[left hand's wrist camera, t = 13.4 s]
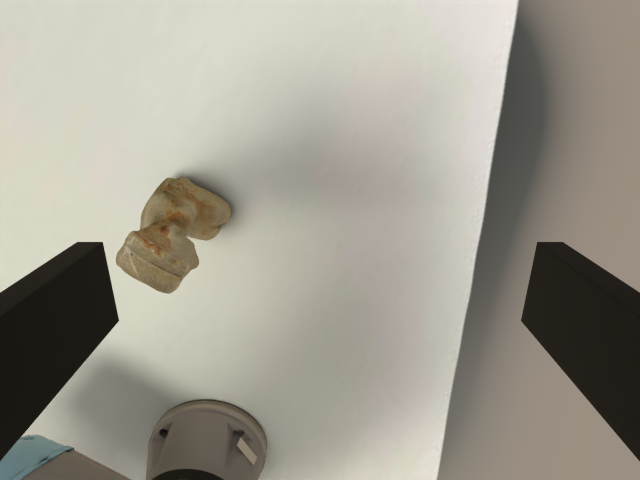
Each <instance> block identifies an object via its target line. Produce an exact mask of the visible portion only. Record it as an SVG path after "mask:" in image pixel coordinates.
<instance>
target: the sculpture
mask: <svg viewBox="0 0 640 480" xmlns="http://www.w3.org/2000/svg"><path fill="white" fill-rule="evenodd" d="M230 217H231V209H230V207H229V205H228V204H227V203H226V202H225V201H224V200H223V199H222V198H220V197H218V196H217V195H215V194H213V193H211V192H209V191H207V190H205V189H203V188H201V187H199V186H197V185H195V184H193V183H192V182H191V181H190V180H189V179H188V178H185V177H180V178H178V179H173V178H167V179H165V180H164V181H163V182H162V183H161V184H160V186H159V187H158V188H157V189H156V190H155V192H154V193H153V195H152V196H151V197H150V199H149V200H148V202H147V203H146V205H145V207H144V209H143V212H142V215H141V226H140V230H139V231H132V232H130V233H129V235H128V236H127V238H126V240H125V243H124V244H123V246H122V248H121V249H120V250H119V252H118V254H117V256H116V263H117V265H118V266H119V267H121V268H122V270H123V271H124V272H126V273H127V274H128V275H130V276H131V277H133V278H135V279H137V280H139V281H141V282H143V283H145V284H147V285H148V286H150V287H152V288H154V289H155V290H157V291H160V292H163V293H172V292H173V291H175V290H176V289H177V288H178V287H179V285H180V283H181V281H182V280H183V278H184V277H185V276H186V275H187V274H188V273H189V272H190V270H192V269H194V268H196V267H198V265H199V259H198V256H197V254H196V250H195V246H194V243H193V242H192V241H190V240H189V239H188V238H187V237H186V236H188V237H191V238H195V239H200V240H210V239H212V238H214V237H215V236H216V235H217V234H218V233H219V231H220V229H221V227H220V225H221V224H225V223H227V222H228V220H229V219H230Z"/></svg>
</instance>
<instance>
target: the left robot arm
mask: <svg viewBox="0 0 640 480" xmlns="http://www.w3.org/2000/svg"><path fill="white" fill-rule="evenodd" d="M118 321H119V319H118V314H117V309H116V304H115V299H114V295H113V290H112V285H111V280H110V275H109V270H108V266H107V261H106V256H105V251H104V246H103V242H77V243H75V244H74V245H72V246H71V247H69V248H68V249H66V250H65V251H63V252H61V253H60V254H58V255H57V256H55V257H54V258H52V259H51V260H49V261H48V262H46V263H45V264H43V265H42V266H40V267H39V268H37V269H36V270H34V271H33V272H31V273H30V274H28V275H26V276H25V277H23V278H22V279H20V280H19V281H17V282H16V283H14V284H13V285H11V286H10V287H8V288H7V289H5V290H4V291H2V292H1V293H0V480H130V479H129V478H127V477H125V476H123V475H121V474H119V473H117V472H115V471H113V470H111V469H109V468H108V467H106V466H104V465H102V464H100V463H98V462H96V461H94V460H92V459H90V458H88V457H86V456H85V455H83V454H81V453H79V452H77V451H75V450H74V448H73V447H71V446H63V445H61V444H58V443H56V442H54V441H52V440H49V439H47V438H45V437H43V436H39V435H28V436H24V437H21V436H22V435H23V434H24V433H25V431H26V430H27V429H28V428H29V427H30V425H31V424H32V423H33V422H34V421H35V420H36V418H37V417H38V416H39V415H40V414H41V412H42V411H43V410H44V409H45V408H46V407H47V405H48V404H49V403H50V402H51V401H52V399H53V398H54V397H55V396H56V395H57V393H58V392H59V391H60V390H61V389H62V388H63V386H64V385H65V384H66V383H67V382H68V380H69V379H70V378H71V377H72V376H73V375H74V373H75V372H76V371H77V370H78V369H79V367H80V366H81V365H82V364H83V363H84V362H85V360H86V359H87V358H88V357H89V356H90V354H91V353H92V352H93V351H94V350H95V348H96V347H97V346H98V345H99V344H100V343H101V341H102V340H103V339H104V338H105V337H106V335H107V334H108V333H109V332H110V331H111V330H112V328H113V327H114V326H115V325H116V324H117V322H118ZM521 321H522V322H523V324H524V325H525V326H526V327H527V328H528V330H529V331H530V332H531V333H532V334H533V335H534V337H535V338H536V339H537V340H538V341H539V343H540V344H541V345H542V346H543V347H544V348H545V350H546V351H547V352H548V353H549V354H550V356H551V357H552V358H553V359H554V360H555V361H556V363H557V364H558V365H559V366H560V367H561V369H562V370H563V371H564V372H565V373H566V374H567V376H568V377H569V378H570V379H571V380H572V382H573V383H574V384H575V385H576V386H577V388H578V389H579V390H580V391H581V392H582V393H583V395H584V396H585V397H586V398H587V399H588V401H589V402H590V403H591V404H592V405H593V407H594V408H595V409H596V410H597V411H598V412H599V414H600V415H601V416H602V417H603V418H604V419H605V421H606V422H607V423H608V424H609V425H610V427H611V428H612V429H613V430H614V431H615V433H616V434H617V435H618V436H619V437H620V438H621V440H622V441H623V442H624V443H625V444H626V446H627V447H628V448H629V449H630V450H631V451H632V453H633V454H634V455H635V456H636V457H637V459H638V460H639V461H640V293H639V292H638V291H636V290H635V289H633V288H632V287H630V286H629V285H627V284H626V283H624V282H623V281H621V280H620V279H618V278H617V277H615V276H614V275H612V274H610V273H609V272H607V271H606V270H604V269H603V268H601V267H600V266H598V265H597V264H595V263H594V262H592V261H591V260H589V259H588V258H586V257H585V256H583V255H582V254H580V253H579V252H577V251H575V250H574V249H572V248H571V247H569V246H568V245H566V244H565V243H563V242H537V246H536V251H535V256H534V261H533V266H532V271H531V275H530V280H529V285H528V290H527V295H526V299H525V304H524V309H523V314H522V319H521ZM20 437H21V438H20ZM265 455H266V439H265V436H264V433H263V431H262V429H261V428H260V426H259V425H258V424H257V422H256V421H255V420H254V419H253V418H252V417H251V416H249V415H248V414H247V413H245V412H244V411H242V410H240V409H239V408H236V407H234V406H232V405H229V404H226V403H222V402H217V401H207V400H202V401H192V402H187V403H184V404H181V405H178V406H176V407H174V408H172V409H171V410H169V411H168V412H167V413H166V414H164V415H163V416H162V418H161V419H160V420H159V422H158V423H157V425H156V427H155V429H154V431H153V434H152V436H151V438H150V441H149V448H148V459H147V472H146V480H257V479H258V477H259V475H260V473H261V472H262V469H263V466H264V462H265Z"/></svg>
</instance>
